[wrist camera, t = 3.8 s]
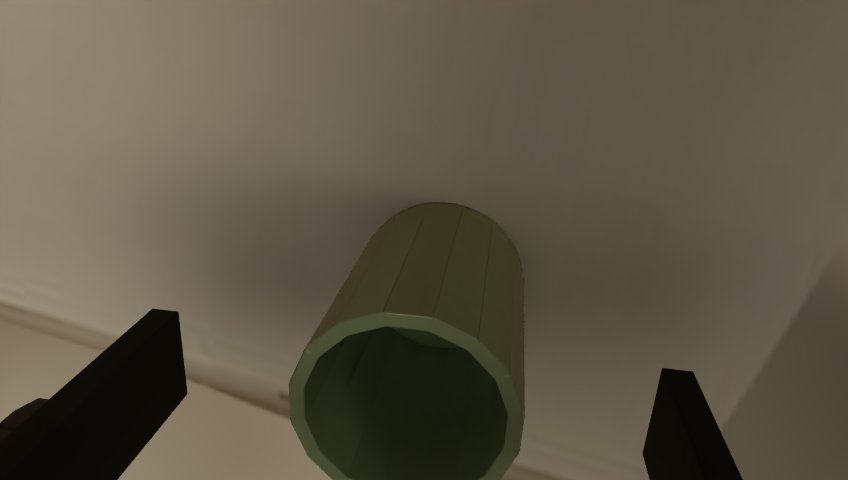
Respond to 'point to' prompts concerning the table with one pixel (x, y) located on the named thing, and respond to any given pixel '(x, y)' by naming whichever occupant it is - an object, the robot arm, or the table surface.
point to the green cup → (419, 355)
